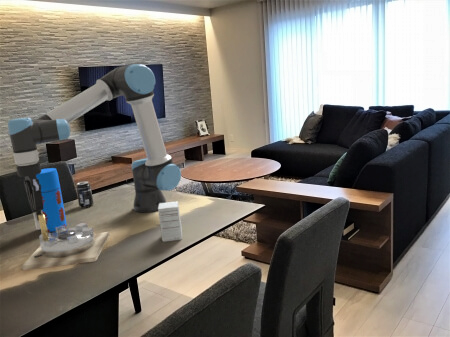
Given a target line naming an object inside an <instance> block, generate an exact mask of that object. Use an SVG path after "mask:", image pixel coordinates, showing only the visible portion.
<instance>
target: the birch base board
mask: <svg viewBox="0 0 450 337" xmlns="http://www.w3.org/2000/svg"><path fill="white" fill-rule="evenodd" d="M93 234H94V240H95V243H94V245H93V246H91V247H90V248H89V249H87V250H85V251H82V252H80V253H77V254H74V255H70V256H64V257H46V256H44V255H43V254H42V250H41V245H40V244H39V246H38V248H37V249H36V250H35V251H34V252H33V253H32V254H31V255H30V257H29V258H28V259H27V260H26V261H25V262H24V263H23V264H22V266H21V267H22V270H23V271H27V270H35V269H42V268H51V267H59V266H67V265H69V266H70V265H76V264H82V263H83V264H84V263H92V262H97V261H98V258H99V256H100V254H101V252H102V250H103V249H104V247H105V245H106V243H107V241H108V240H109V237H110V231H105V232H96V233H95V232H93Z"/></svg>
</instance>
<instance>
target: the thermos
mask: <svg viewBox="0 0 450 337" xmlns="http://www.w3.org/2000/svg"><path fill="white" fill-rule="evenodd" d="M36 177H37V179H38V180H39V184H40V185H41V194H42V202H43V210H42V213H43V214H44V215H45V220H46V226H47V231H48V233H51V232H52V233H53V232H56V228H55V227H59V226H62V225H64V226H65V227H66V228H67V219H66V212H65V207H64V201H63V200H64V199H63V196H62V189H61V184H60V180H59V179H60V178H59V173H58V171H57V168H55V167H51V168H41V173H39V174H37V175H36Z"/></svg>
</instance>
